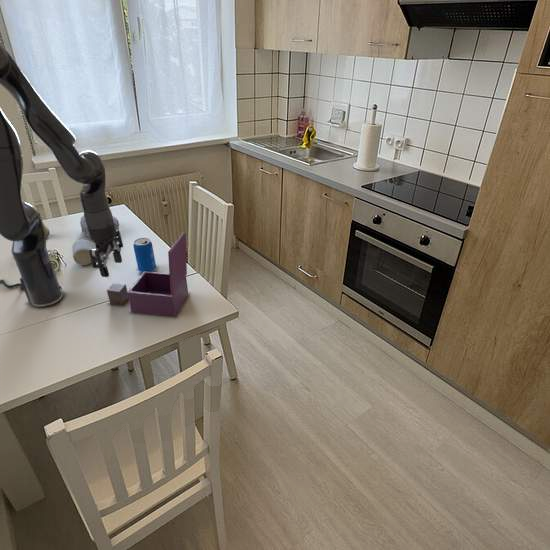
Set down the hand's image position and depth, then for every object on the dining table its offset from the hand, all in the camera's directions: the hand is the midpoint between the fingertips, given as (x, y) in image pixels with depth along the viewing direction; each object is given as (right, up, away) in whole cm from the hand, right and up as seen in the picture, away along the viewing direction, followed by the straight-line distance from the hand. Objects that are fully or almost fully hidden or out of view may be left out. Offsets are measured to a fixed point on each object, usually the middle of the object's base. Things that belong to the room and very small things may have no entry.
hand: (112, 269), depth 124 cm
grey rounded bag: (-26, +17, +50) cm, 59 cm away
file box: (+14, -11, +6) cm, 19 cm away
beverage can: (+4, 0, +23) cm, 23 cm away
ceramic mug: (-21, +4, +29) cm, 36 cm away
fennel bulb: (-18, +25, +55) cm, 63 cm away
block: (0, -10, +7) cm, 12 cm away
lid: (+21, +2, -4) cm, 22 cm away
